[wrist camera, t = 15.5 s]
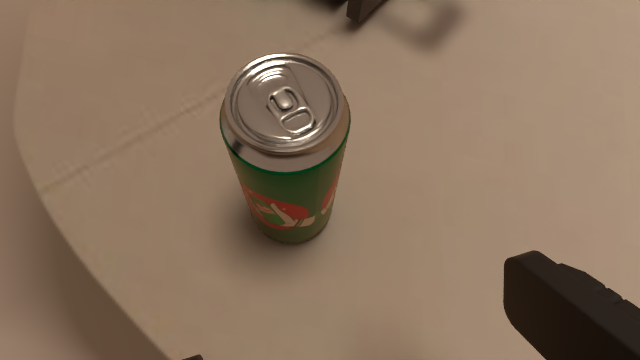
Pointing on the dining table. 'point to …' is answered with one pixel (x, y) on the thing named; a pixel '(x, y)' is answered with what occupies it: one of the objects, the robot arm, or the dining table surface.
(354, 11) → the drawer
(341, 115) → the soda can
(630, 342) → the robot arm
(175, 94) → the dining table surface
